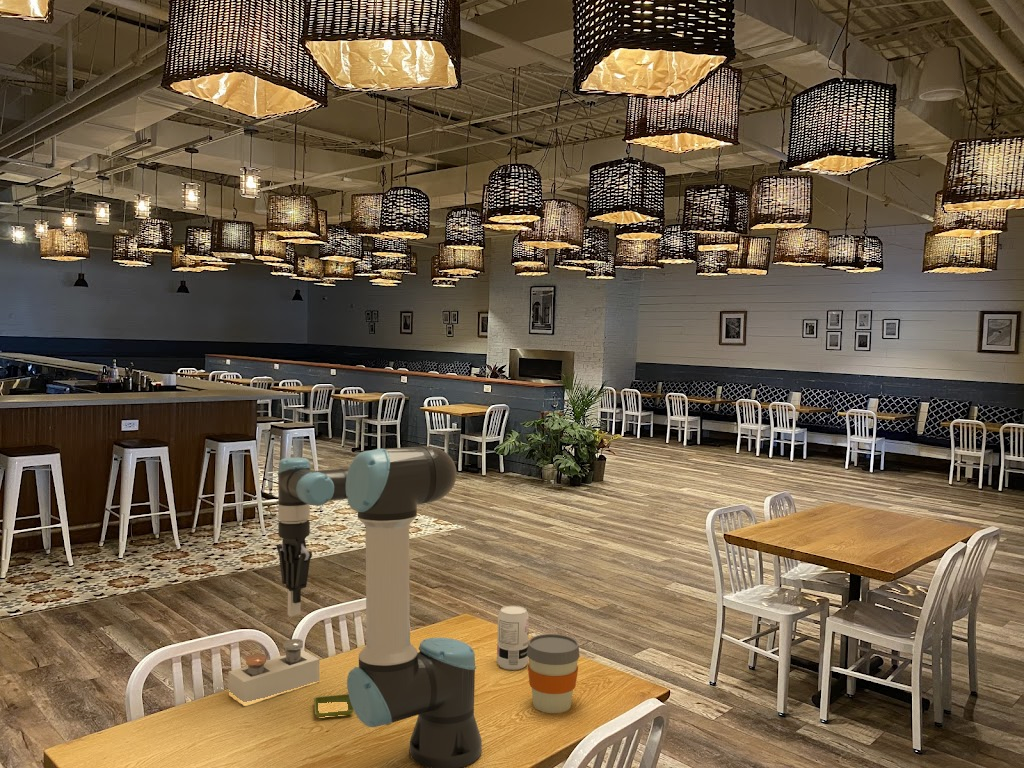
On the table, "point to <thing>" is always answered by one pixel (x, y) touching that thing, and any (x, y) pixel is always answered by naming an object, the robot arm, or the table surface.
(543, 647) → the reusable coffee cup
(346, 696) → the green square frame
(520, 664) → the supplement can
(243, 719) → the table surface
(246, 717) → the table surface
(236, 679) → the socket block
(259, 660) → the terracotta plug
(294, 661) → the grey plug
